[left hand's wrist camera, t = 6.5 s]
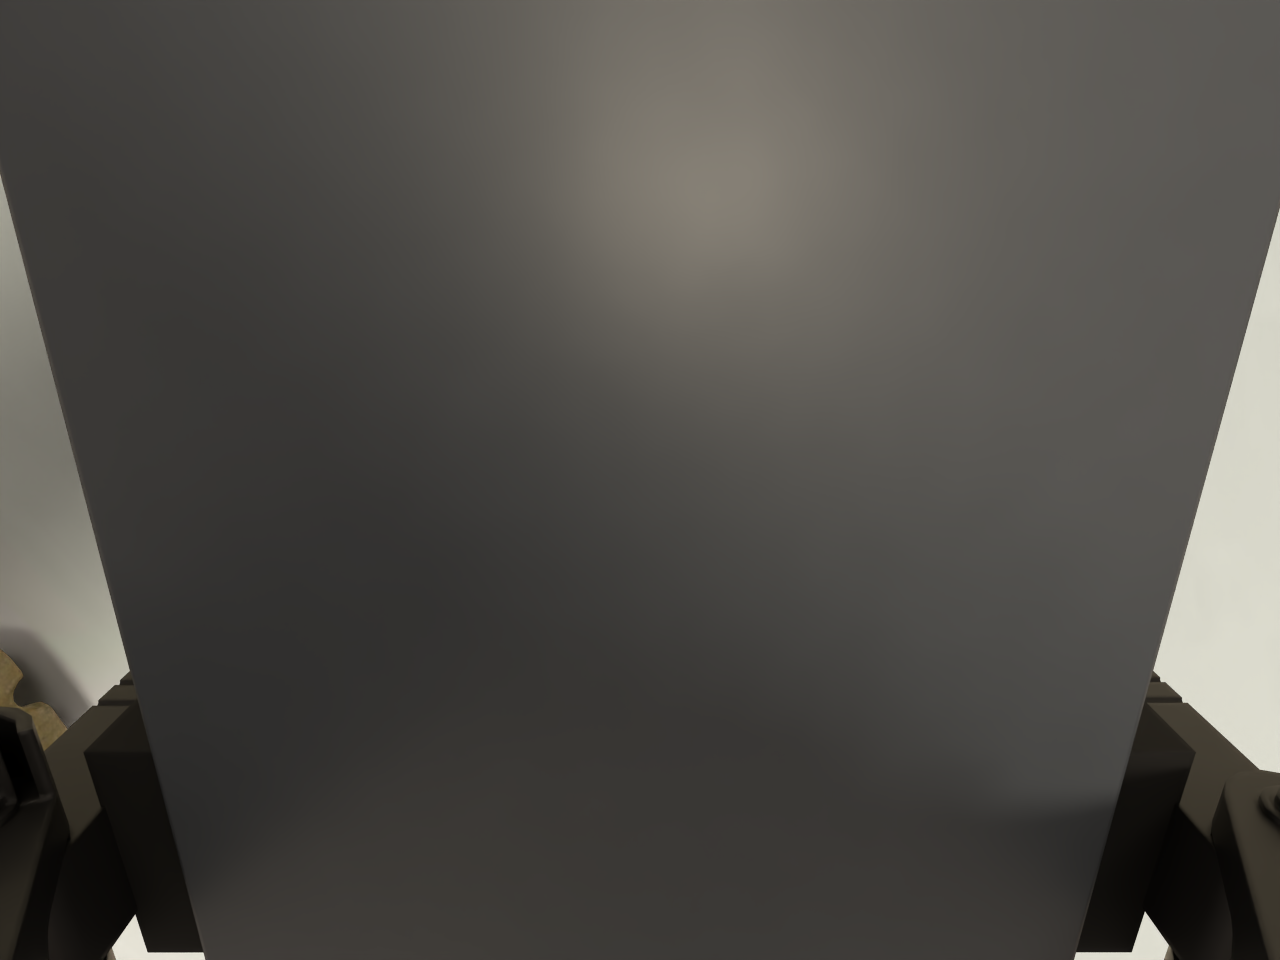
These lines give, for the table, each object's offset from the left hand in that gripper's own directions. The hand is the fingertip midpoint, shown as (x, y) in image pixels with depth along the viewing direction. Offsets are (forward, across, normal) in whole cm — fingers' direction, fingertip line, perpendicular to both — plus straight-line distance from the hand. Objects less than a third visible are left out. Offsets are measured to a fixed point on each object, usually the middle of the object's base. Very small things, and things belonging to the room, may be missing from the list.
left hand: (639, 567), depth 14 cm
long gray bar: (+1, 0, -28) cm, 28 cm away
